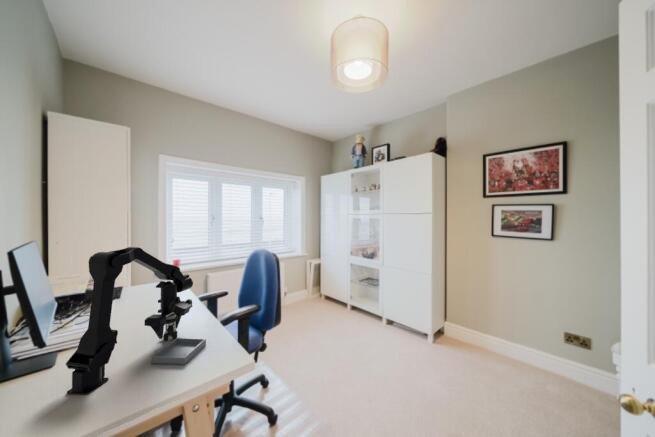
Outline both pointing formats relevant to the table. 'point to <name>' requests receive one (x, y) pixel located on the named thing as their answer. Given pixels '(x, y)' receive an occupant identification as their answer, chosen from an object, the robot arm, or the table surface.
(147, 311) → the table surface
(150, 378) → the table surface
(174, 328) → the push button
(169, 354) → the tray
